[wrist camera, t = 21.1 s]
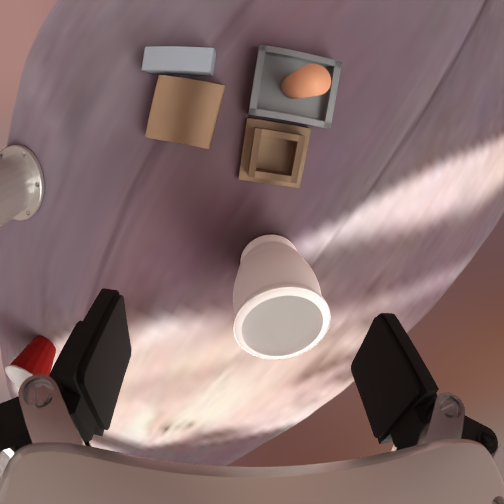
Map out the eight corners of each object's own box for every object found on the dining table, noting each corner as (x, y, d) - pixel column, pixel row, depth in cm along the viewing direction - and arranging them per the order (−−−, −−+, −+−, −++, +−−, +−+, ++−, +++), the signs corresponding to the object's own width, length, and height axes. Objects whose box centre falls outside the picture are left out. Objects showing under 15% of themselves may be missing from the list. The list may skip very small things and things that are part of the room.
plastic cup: (47, 364, 54) (29, 400, 44) (20, 331, 49) (-3, 367, 39) (74, 359, 53) (56, 400, 43) (45, 323, 48) (20, 364, 38)
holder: (238, 177, 38) (238, 183, 35) (247, 117, 34) (248, 118, 32) (298, 186, 39) (302, 192, 36) (309, 128, 35) (314, 130, 32)
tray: (247, 114, 34) (248, 114, 32) (258, 48, 30) (259, 44, 28) (324, 127, 35) (330, 129, 33) (335, 64, 31) (341, 62, 29)
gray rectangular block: (151, 73, 30) (141, 70, 27) (154, 52, 29) (145, 46, 26) (212, 76, 31) (209, 72, 28) (216, 54, 30) (213, 48, 26)
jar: (273, 212, 40) (291, 268, 27) (317, 259, 44) (348, 324, 31) (218, 259, 43) (211, 329, 30) (265, 300, 47) (275, 372, 34)
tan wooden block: (151, 135, 35) (145, 137, 32) (164, 77, 31) (159, 74, 29) (210, 146, 36) (208, 149, 33) (225, 87, 33) (224, 85, 30)
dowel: (278, 96, 32) (294, 91, 23) (282, 72, 31) (300, 60, 22) (303, 101, 33) (328, 99, 24) (308, 77, 31) (333, 68, 22)
